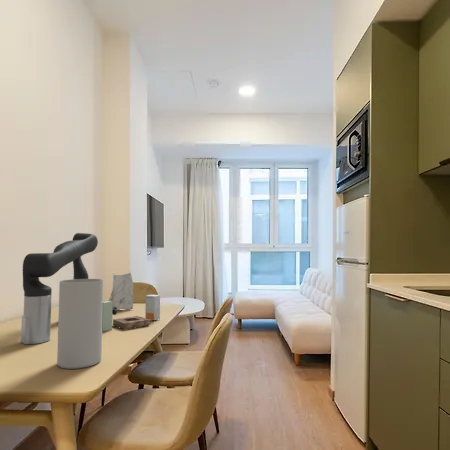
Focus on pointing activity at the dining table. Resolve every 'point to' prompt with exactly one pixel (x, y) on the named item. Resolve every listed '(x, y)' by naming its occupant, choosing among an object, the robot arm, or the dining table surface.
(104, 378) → the dining table surface
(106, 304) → the green post
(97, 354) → the cylinder vase
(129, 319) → the well block
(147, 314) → the skincare box
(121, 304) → the grocery bag
